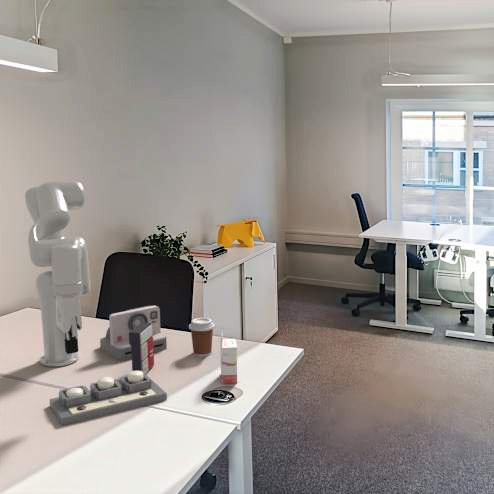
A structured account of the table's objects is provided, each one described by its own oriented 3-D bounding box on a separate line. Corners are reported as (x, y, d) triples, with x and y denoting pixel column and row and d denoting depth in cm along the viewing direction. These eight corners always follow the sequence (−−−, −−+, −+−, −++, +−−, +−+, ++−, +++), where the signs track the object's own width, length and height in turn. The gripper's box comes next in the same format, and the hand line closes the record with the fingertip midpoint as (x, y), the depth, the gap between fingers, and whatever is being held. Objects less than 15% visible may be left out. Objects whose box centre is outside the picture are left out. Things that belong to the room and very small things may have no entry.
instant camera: (112, 362, 202) (110, 320, 200) (96, 345, 220) (94, 306, 218) (170, 351, 212) (169, 311, 210) (151, 335, 230) (149, 298, 228)
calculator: (143, 378, 188) (141, 333, 185) (130, 377, 189) (128, 332, 186) (155, 365, 199) (153, 322, 196) (143, 365, 200) (141, 322, 197)
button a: (64, 398, 168) (64, 390, 168) (81, 394, 171) (80, 386, 170) (69, 404, 165) (68, 395, 164) (85, 400, 167) (85, 392, 166)
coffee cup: (186, 350, 213) (185, 318, 211) (210, 347, 216) (210, 315, 214) (193, 359, 204) (192, 325, 202) (218, 355, 207) (218, 322, 205)
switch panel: (49, 405, 169) (48, 390, 168) (148, 383, 184) (148, 369, 184) (62, 425, 157) (60, 409, 157) (166, 399, 172) (166, 385, 172)
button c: (125, 380, 177) (125, 372, 177) (140, 377, 180) (139, 369, 179) (130, 385, 173) (130, 377, 173) (145, 382, 176) (145, 374, 175)
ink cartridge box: (238, 383, 183) (237, 338, 181) (222, 384, 183) (221, 338, 180) (236, 372, 192) (235, 329, 189) (220, 373, 191) (219, 329, 189)
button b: (95, 386, 173) (95, 379, 172) (111, 383, 175) (110, 375, 175) (100, 392, 169) (100, 384, 168) (116, 388, 171) (115, 381, 171)
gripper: (47, 284, 166) (51, 346, 170) (60, 296, 154) (65, 363, 157) (74, 281, 170) (78, 341, 174) (89, 292, 158) (93, 358, 161)
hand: (71, 352), depth 165 cm, fingers closed
